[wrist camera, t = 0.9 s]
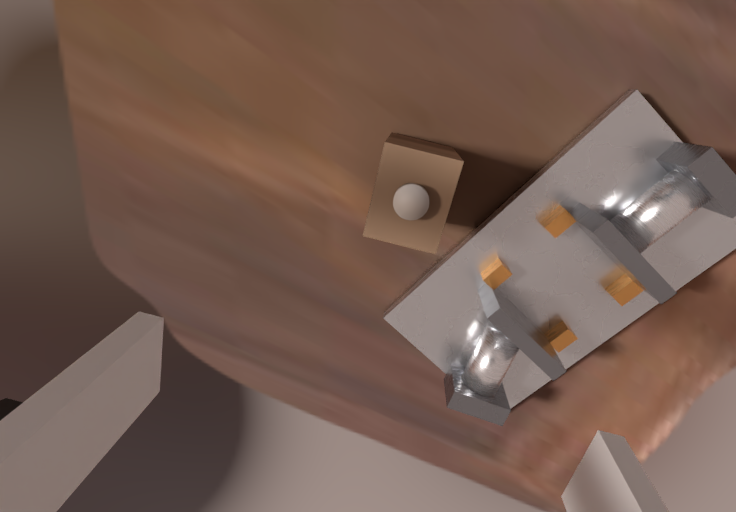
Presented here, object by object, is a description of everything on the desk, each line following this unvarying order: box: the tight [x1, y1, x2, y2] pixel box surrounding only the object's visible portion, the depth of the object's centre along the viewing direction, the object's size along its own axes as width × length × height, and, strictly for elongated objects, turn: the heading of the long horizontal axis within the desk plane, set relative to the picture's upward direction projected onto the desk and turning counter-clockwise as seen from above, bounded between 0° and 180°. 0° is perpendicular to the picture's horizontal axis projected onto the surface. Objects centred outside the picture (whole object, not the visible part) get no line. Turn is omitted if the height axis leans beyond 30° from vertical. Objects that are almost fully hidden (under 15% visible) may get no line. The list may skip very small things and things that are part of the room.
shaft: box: [444, 321, 519, 426], centre depth 30 cm, size 6×4×3 cm
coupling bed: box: [383, 89, 736, 409], centre depth 27 cm, size 21×12×5 cm, turn 137°
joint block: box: [363, 133, 464, 254], centre depth 25 cm, size 5×4×8 cm
